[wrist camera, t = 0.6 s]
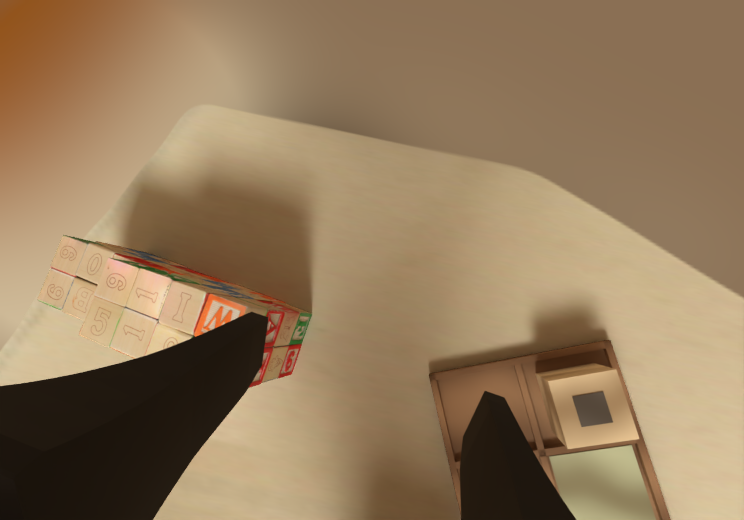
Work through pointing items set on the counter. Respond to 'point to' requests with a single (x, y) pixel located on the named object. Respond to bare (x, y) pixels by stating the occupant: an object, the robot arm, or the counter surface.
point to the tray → (563, 466)
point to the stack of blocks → (161, 303)
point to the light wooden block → (586, 405)
